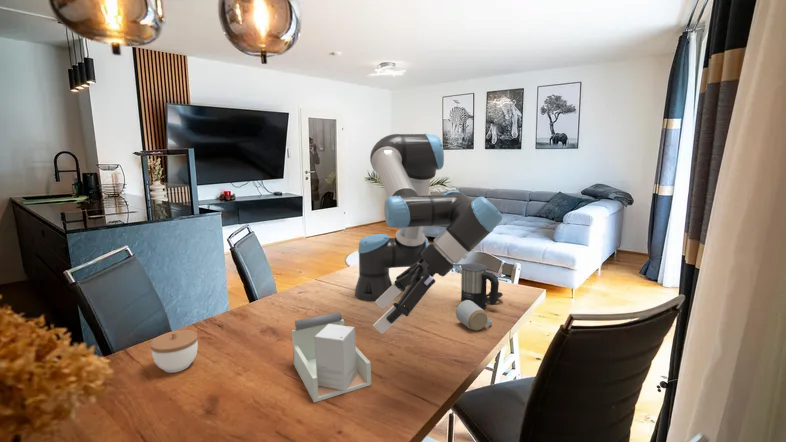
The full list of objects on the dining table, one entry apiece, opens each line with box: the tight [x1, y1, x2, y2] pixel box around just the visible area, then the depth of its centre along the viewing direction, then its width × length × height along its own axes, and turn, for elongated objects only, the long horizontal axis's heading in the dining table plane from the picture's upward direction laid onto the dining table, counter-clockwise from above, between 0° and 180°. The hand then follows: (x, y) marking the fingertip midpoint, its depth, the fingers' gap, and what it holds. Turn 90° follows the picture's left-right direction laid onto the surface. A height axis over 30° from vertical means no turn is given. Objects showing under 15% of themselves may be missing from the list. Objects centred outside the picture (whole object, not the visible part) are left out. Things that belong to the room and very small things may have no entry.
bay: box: [291, 311, 372, 403], centre depth 97 cm, size 19×14×12 cm
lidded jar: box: [149, 329, 199, 374], centre depth 101 cm, size 11×11×9 cm
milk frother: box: [460, 262, 503, 310], centre depth 142 cm, size 14×16×15 cm
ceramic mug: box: [455, 300, 493, 332], centre depth 124 cm, size 11×8×8 cm
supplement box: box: [315, 324, 357, 391], centre depth 93 cm, size 7×7×13 cm
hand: (378, 316), depth 91 cm, fingers open, 13 cm apart
